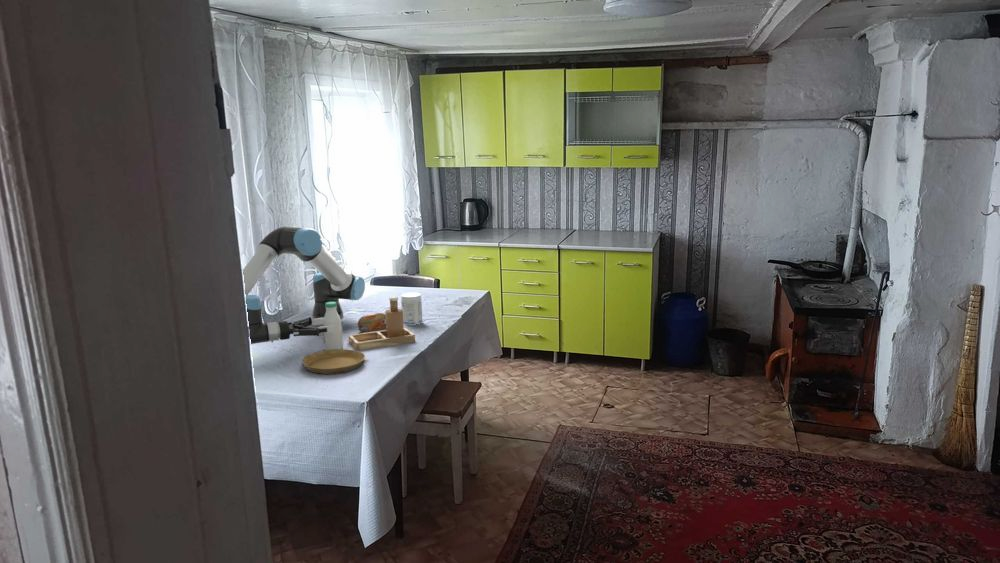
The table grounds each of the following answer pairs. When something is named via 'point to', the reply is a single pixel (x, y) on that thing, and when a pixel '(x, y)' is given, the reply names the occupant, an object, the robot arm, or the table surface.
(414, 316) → the supplement tub
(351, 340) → the divided wooden tray
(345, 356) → the plant saucer
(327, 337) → the milk bottle
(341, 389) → the table surface
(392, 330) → the brown bottle
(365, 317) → the tin
